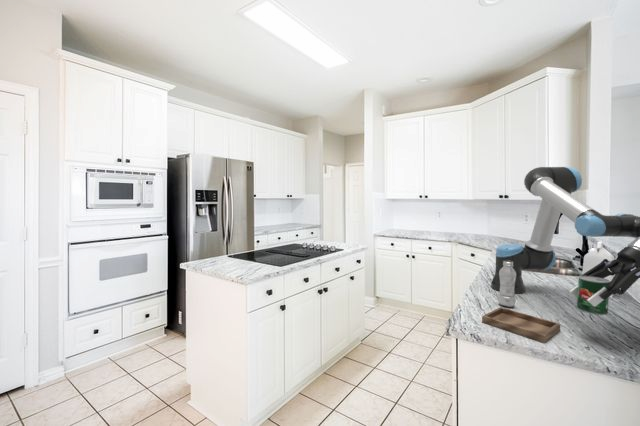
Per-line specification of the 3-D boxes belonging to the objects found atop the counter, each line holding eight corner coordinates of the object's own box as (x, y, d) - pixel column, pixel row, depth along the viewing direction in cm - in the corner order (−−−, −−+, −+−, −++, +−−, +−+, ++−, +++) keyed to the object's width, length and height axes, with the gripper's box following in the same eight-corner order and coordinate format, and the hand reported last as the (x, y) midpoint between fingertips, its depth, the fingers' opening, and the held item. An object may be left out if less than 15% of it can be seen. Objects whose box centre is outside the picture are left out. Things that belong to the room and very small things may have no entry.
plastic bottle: (509, 309, 127) (512, 263, 126) (494, 304, 133) (496, 260, 132) (518, 307, 130) (520, 262, 129) (503, 302, 136) (504, 259, 135)
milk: (611, 297, 143) (615, 244, 142) (580, 291, 152) (583, 241, 150) (614, 292, 151) (617, 242, 150) (584, 287, 160) (586, 239, 158)
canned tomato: (582, 313, 98) (584, 280, 98) (572, 304, 106) (574, 274, 105) (613, 316, 96) (615, 283, 95) (600, 308, 103) (602, 277, 102)
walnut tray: (482, 322, 114) (482, 316, 113) (500, 312, 123) (500, 307, 123) (544, 343, 98) (544, 336, 97) (560, 330, 107) (560, 323, 107)
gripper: (680, 270, 87) (614, 319, 91) (620, 255, 107) (568, 296, 111) (661, 252, 87) (596, 301, 91) (605, 240, 108) (554, 281, 111)
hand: (581, 298), depth 101 cm, fingers closed on canned tomato, 8 cm apart
